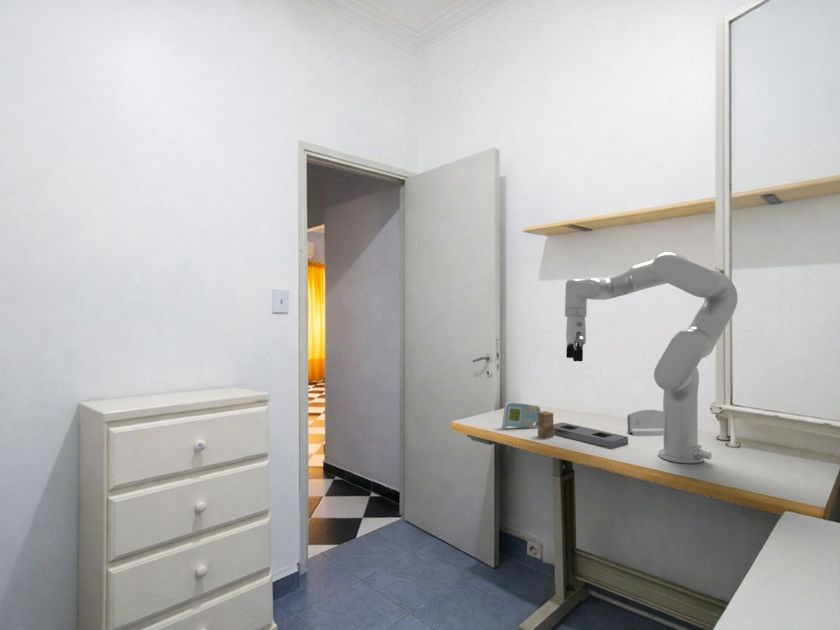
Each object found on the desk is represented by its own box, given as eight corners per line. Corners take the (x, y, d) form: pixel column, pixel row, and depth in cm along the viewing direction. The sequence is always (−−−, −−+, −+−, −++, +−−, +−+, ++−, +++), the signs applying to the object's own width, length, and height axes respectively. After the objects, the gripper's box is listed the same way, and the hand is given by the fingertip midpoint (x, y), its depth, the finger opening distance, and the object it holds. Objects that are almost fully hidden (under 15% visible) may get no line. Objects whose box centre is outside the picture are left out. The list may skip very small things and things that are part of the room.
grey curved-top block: (632, 435, 176) (628, 408, 179) (627, 437, 180) (623, 410, 184) (677, 435, 176) (672, 408, 179) (671, 436, 180) (666, 410, 183)
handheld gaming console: (539, 433, 190) (503, 430, 188) (536, 431, 193) (501, 428, 190) (542, 405, 190) (507, 402, 188) (539, 404, 193) (504, 400, 191)
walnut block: (553, 437, 176) (553, 413, 176) (546, 438, 174) (546, 414, 174) (545, 434, 179) (544, 411, 179) (537, 436, 177) (537, 412, 177)
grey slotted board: (628, 443, 166) (627, 436, 166) (611, 448, 160) (611, 441, 160) (562, 428, 188) (562, 422, 188) (546, 432, 183) (545, 426, 183)
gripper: (593, 313, 164) (591, 362, 164) (579, 312, 181) (578, 356, 182) (571, 313, 164) (569, 362, 165) (559, 312, 181) (558, 356, 182)
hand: (574, 359), depth 173 cm, fingers open, 9 cm apart
